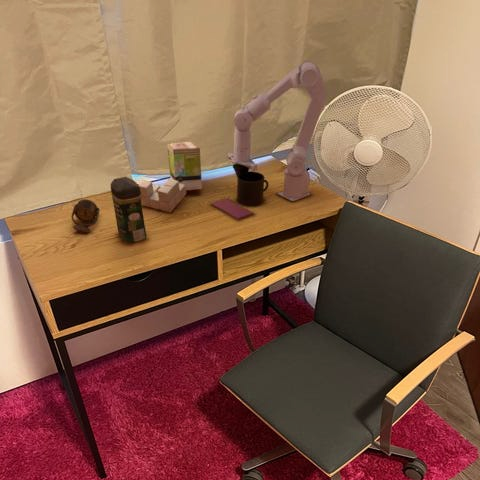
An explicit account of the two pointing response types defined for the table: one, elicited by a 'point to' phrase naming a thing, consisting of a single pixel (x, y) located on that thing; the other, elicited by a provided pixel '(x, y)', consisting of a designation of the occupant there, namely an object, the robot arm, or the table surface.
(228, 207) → the cloth
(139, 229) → the coffee jar
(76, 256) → the table surface
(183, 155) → the tea box
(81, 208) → the dark brown rounded piece
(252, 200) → the mug
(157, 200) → the puzzle cube
